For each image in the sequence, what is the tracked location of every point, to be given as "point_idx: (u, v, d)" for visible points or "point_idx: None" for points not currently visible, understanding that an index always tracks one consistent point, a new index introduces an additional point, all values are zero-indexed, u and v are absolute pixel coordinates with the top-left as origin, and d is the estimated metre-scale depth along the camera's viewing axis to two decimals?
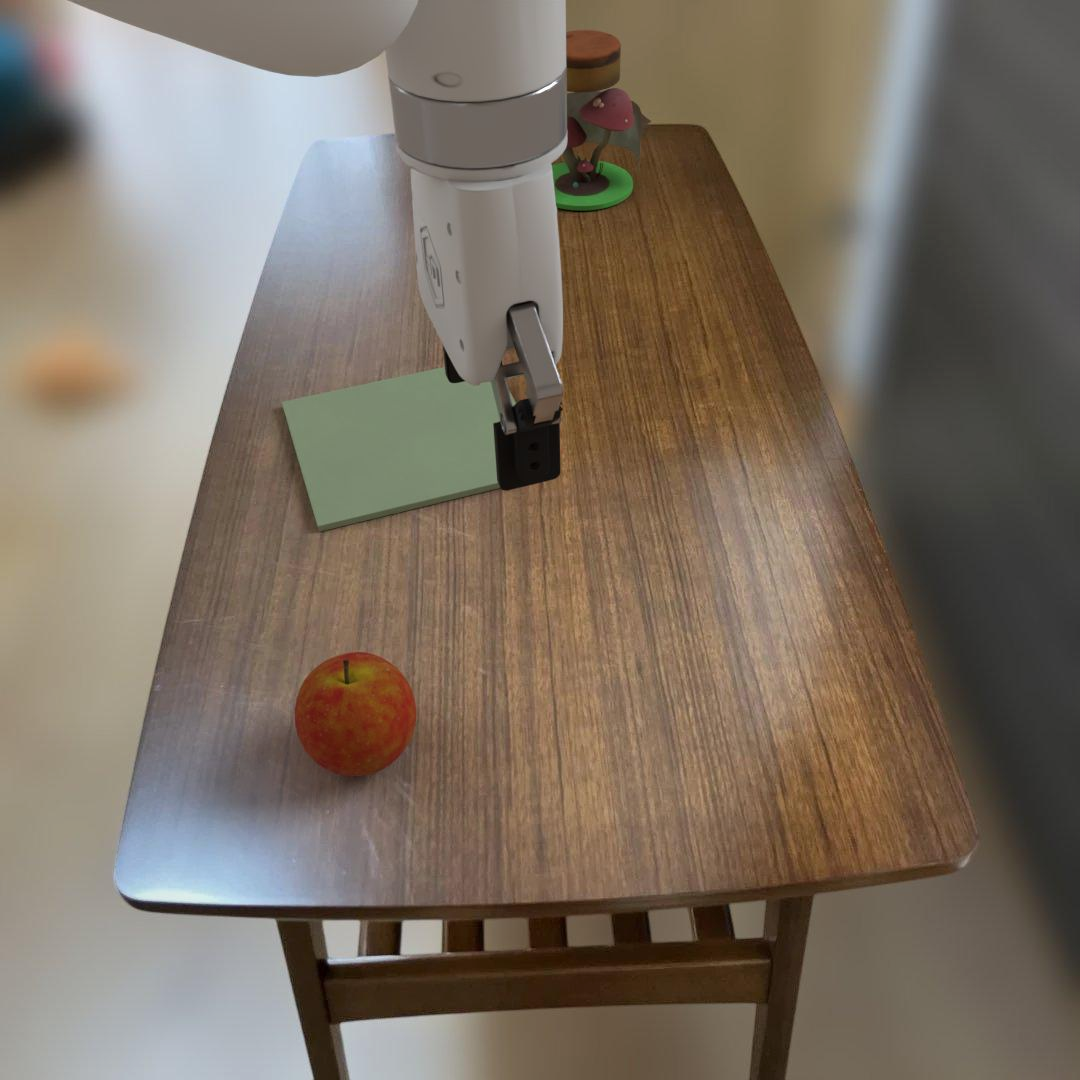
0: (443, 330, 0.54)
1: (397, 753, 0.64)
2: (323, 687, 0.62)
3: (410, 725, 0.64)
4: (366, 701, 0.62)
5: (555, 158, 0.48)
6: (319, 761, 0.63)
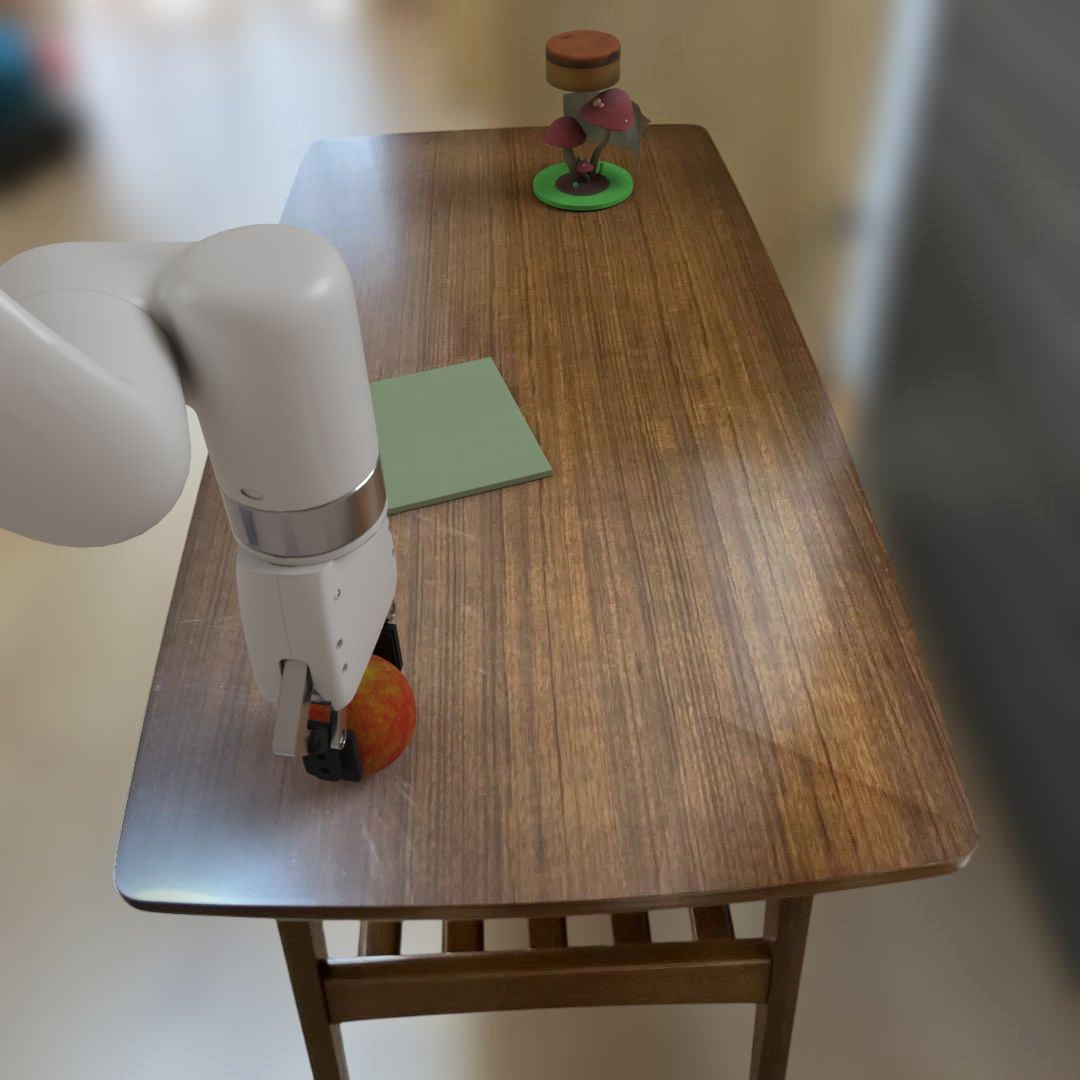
0: None
1: (397, 753, 0.64)
2: None
3: (410, 725, 0.64)
4: (366, 700, 0.62)
5: (338, 556, 0.51)
6: None
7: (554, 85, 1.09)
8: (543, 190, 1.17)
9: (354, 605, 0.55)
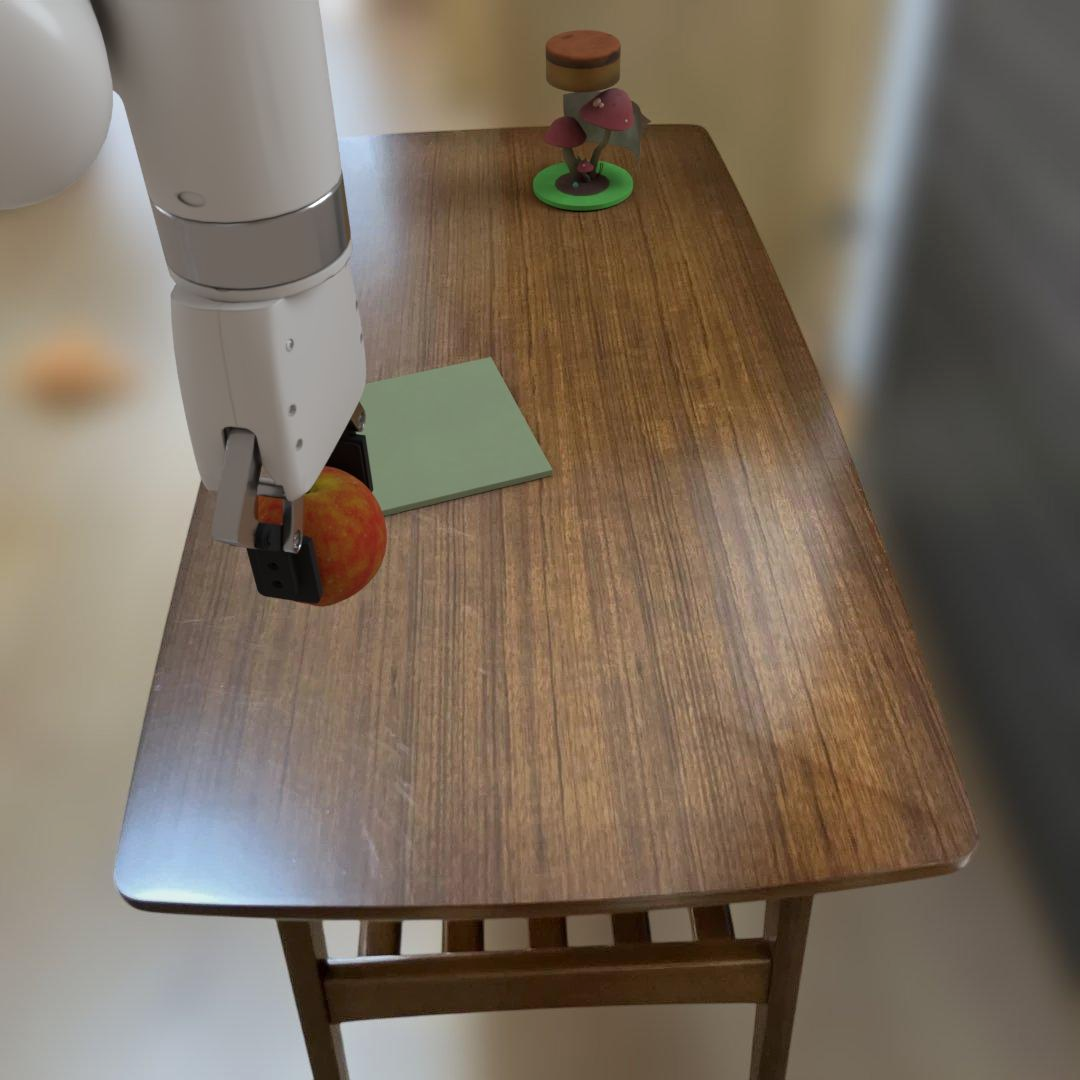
0: None
1: (363, 577, 0.56)
2: None
3: (378, 547, 0.56)
4: (328, 510, 0.54)
5: (290, 293, 0.44)
6: None
7: (554, 85, 1.09)
8: (543, 190, 1.17)
9: (311, 369, 0.47)
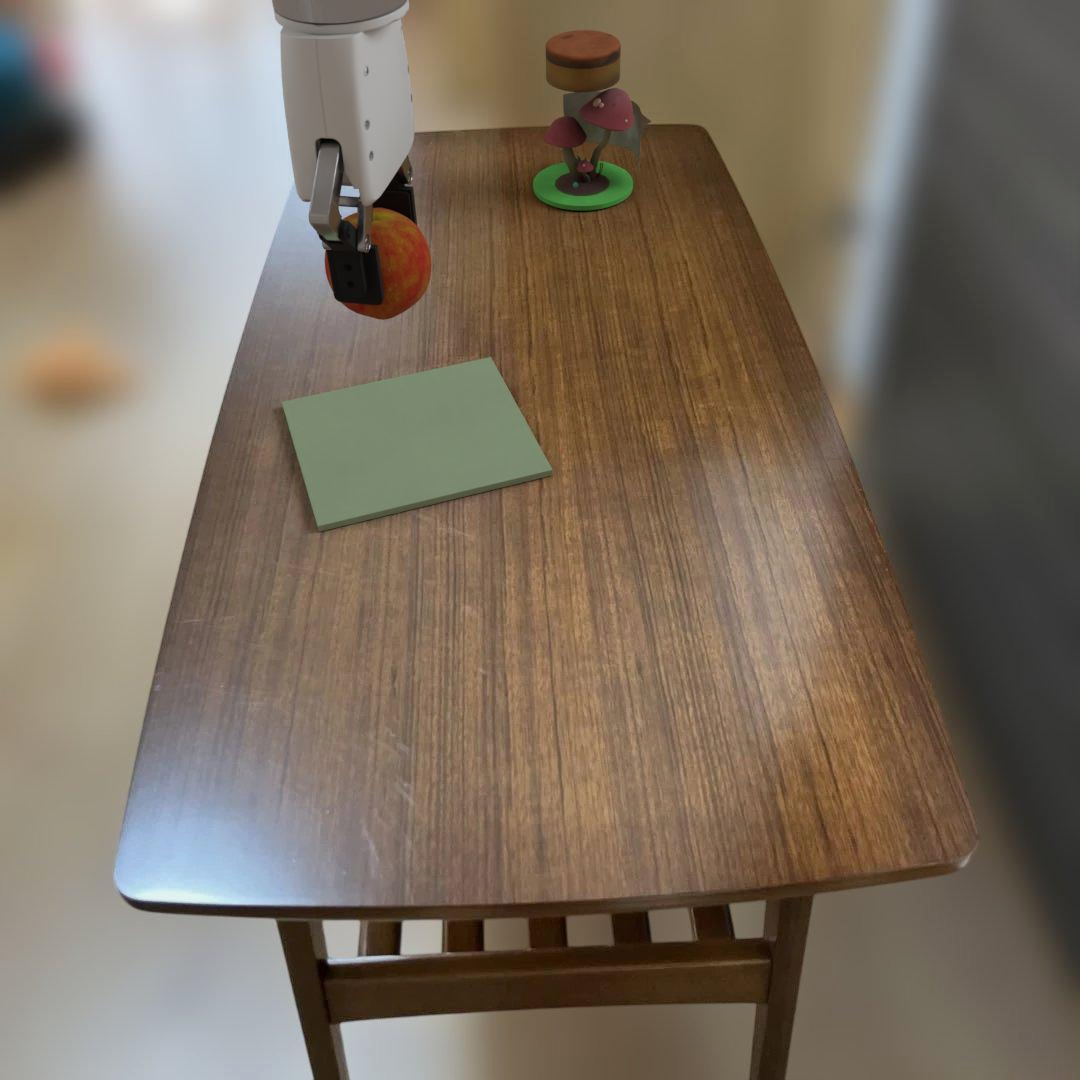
0: None
1: (414, 290, 0.72)
2: None
3: (426, 267, 0.73)
4: (388, 232, 0.71)
5: (367, 29, 0.60)
6: None
7: (554, 85, 1.09)
8: (543, 190, 1.17)
9: (379, 98, 0.64)
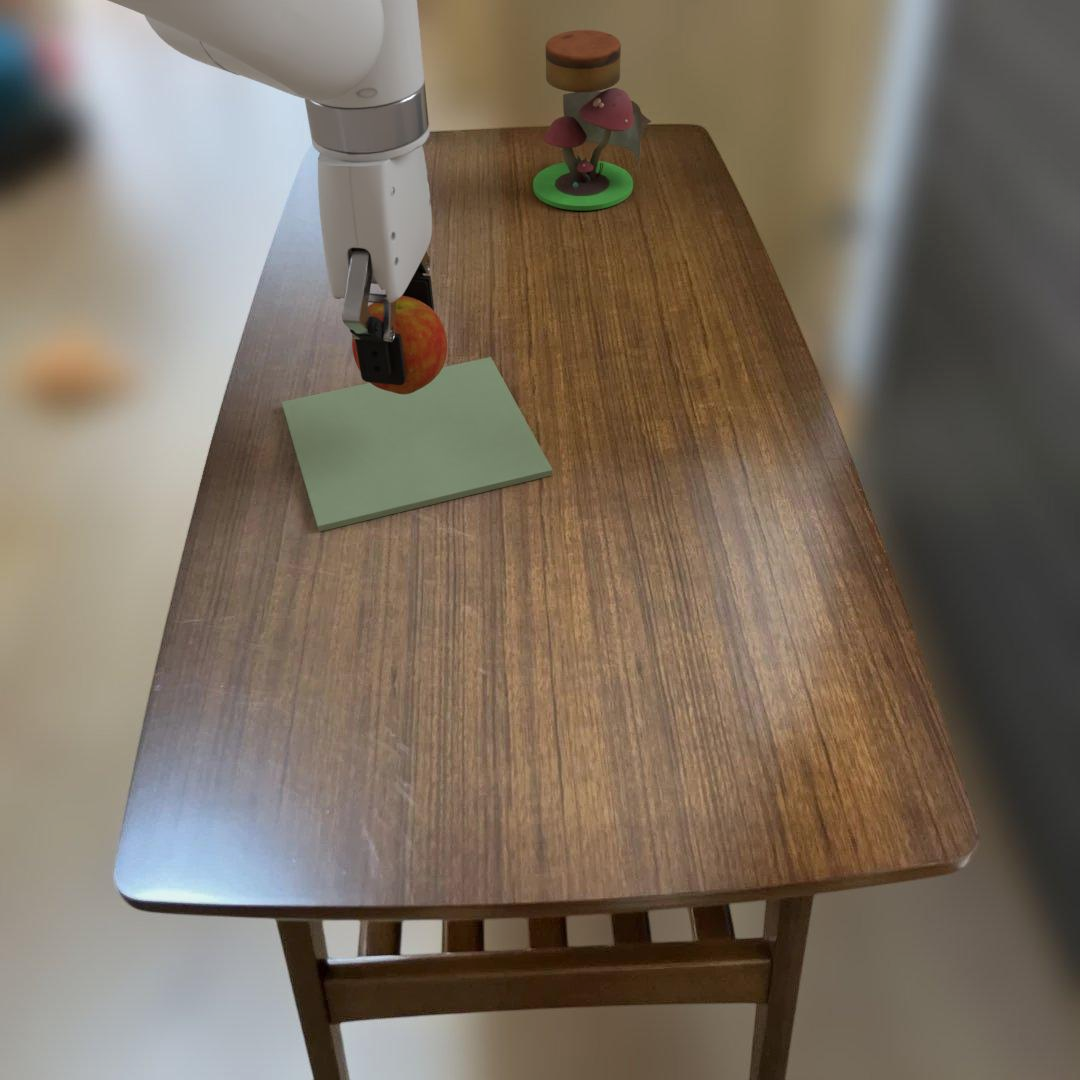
0: None
1: (432, 370, 0.81)
2: (376, 312, 0.80)
3: (442, 349, 0.81)
4: (410, 320, 0.79)
5: (394, 156, 0.69)
6: None
7: (554, 85, 1.09)
8: (543, 190, 1.17)
9: (404, 211, 0.72)
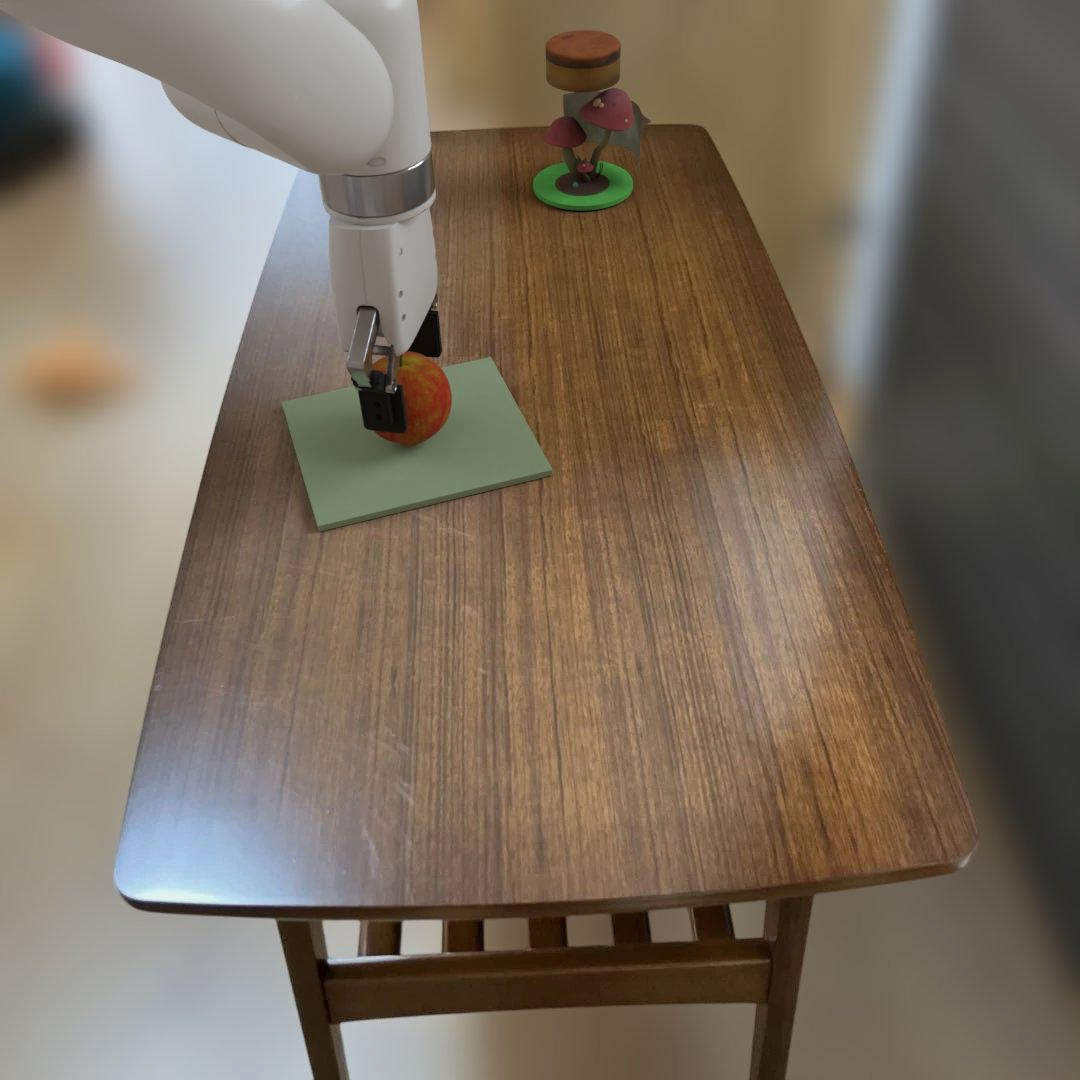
0: None
1: (438, 423, 0.85)
2: (383, 368, 0.83)
3: (447, 403, 0.85)
4: (416, 376, 0.83)
5: (402, 219, 0.72)
6: None
7: (554, 85, 1.09)
8: (543, 190, 1.17)
9: (411, 269, 0.75)
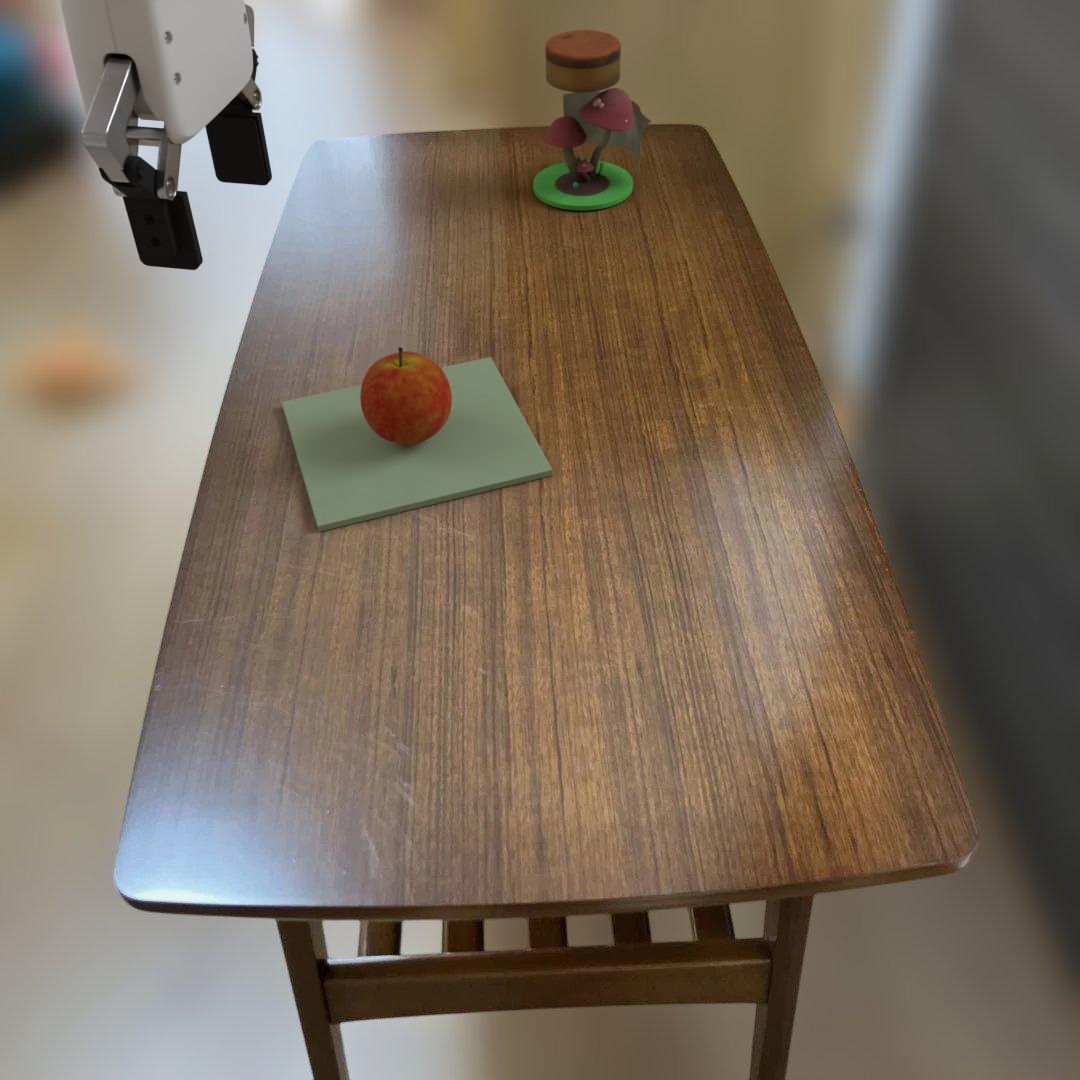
0: None
1: (437, 423, 0.85)
2: (383, 368, 0.83)
3: (447, 403, 0.85)
4: (416, 376, 0.83)
5: None
6: (380, 427, 0.84)
7: (554, 85, 1.09)
8: (543, 190, 1.17)
9: (187, 5, 0.51)
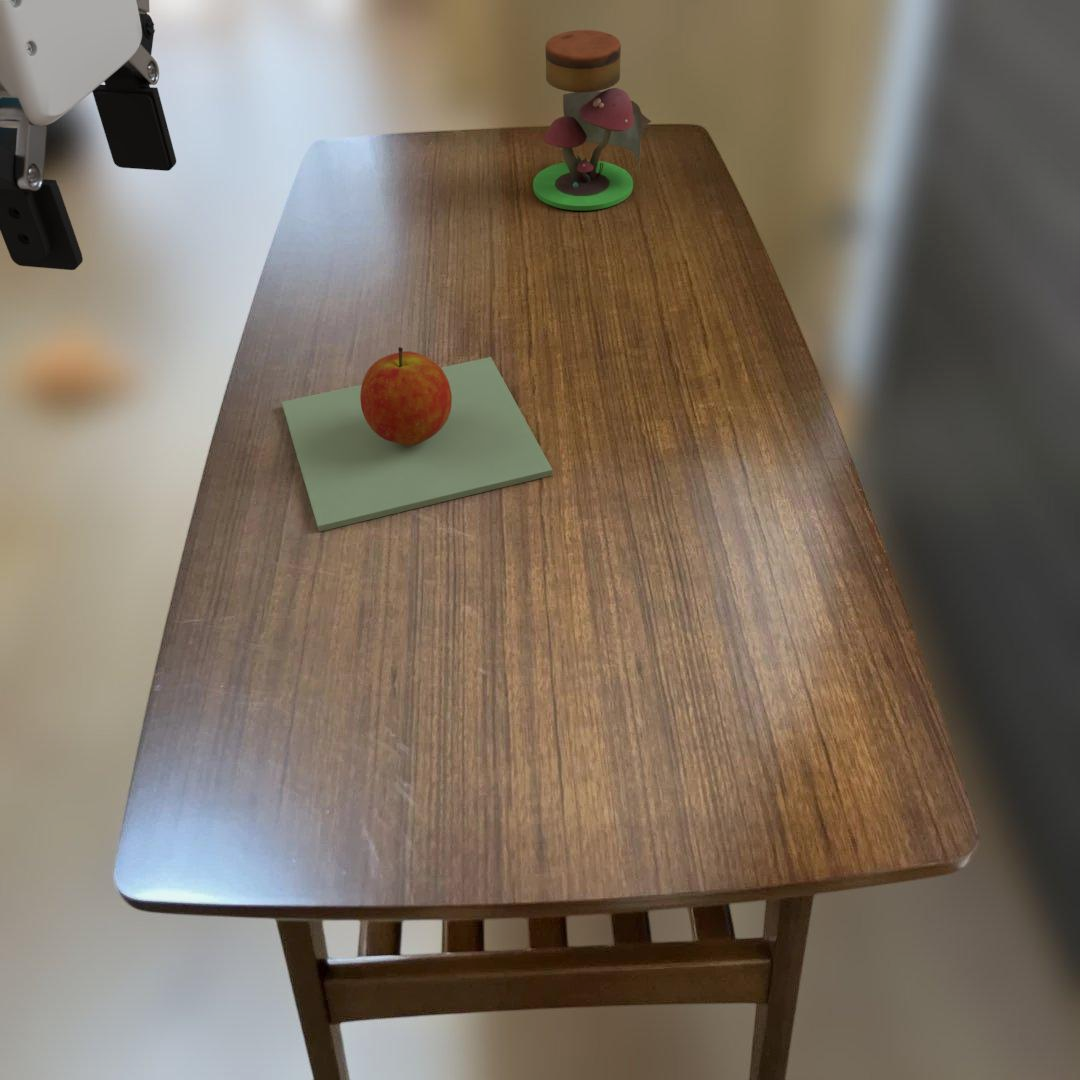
0: None
1: (437, 423, 0.85)
2: (383, 368, 0.83)
3: (447, 403, 0.85)
4: (416, 376, 0.83)
5: None
6: (380, 427, 0.84)
7: (554, 85, 1.09)
8: (543, 190, 1.17)
9: None
